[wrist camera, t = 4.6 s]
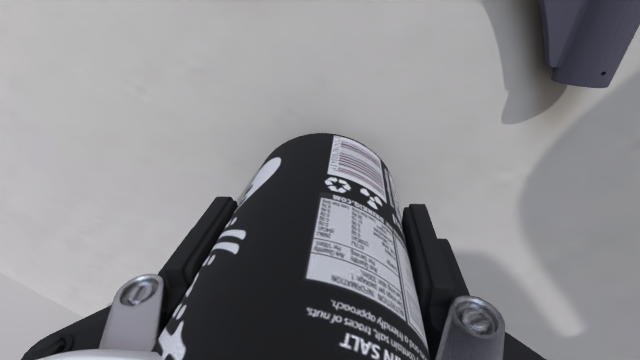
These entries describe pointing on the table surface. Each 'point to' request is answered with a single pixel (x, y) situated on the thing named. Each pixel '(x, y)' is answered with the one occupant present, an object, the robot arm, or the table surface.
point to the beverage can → (306, 266)
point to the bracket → (587, 38)
